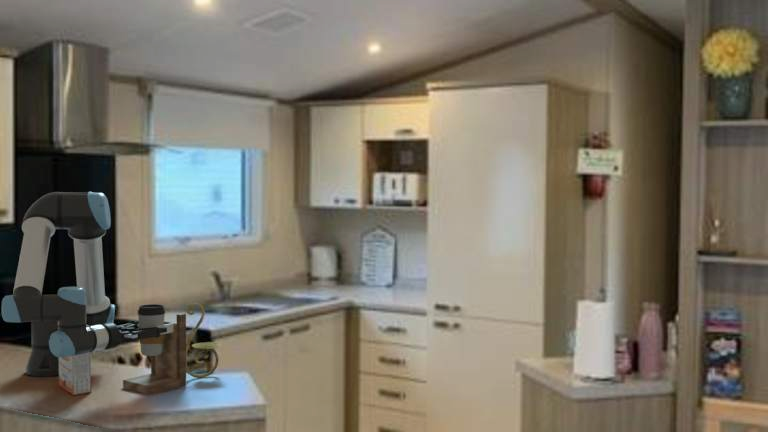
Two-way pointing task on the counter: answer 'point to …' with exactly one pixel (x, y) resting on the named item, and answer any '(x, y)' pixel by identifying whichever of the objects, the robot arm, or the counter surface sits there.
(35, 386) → the counter surface
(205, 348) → the wall sconce
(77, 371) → the cracker box
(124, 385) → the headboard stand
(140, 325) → the coffee cup
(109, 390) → the counter surface
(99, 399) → the counter surface
